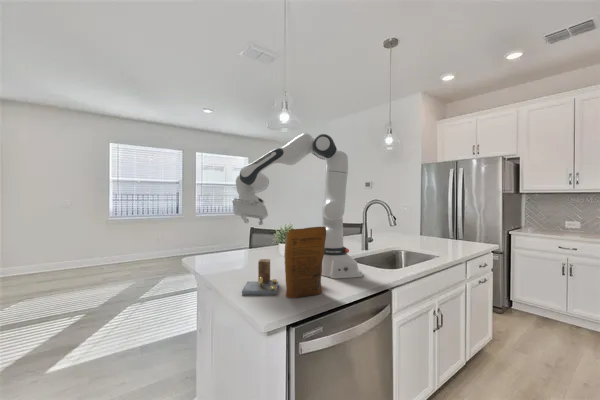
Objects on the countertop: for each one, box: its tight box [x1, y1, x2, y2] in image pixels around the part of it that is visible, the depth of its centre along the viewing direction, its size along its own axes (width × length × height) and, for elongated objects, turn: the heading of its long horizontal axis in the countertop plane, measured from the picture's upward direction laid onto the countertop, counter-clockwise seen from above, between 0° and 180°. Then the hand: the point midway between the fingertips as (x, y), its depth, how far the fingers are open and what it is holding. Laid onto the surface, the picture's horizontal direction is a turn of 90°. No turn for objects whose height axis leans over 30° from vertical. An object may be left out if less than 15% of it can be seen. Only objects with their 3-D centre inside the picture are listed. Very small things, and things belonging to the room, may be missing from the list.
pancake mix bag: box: [284, 226, 326, 299], centre depth 112 cm, size 7×19×28 cm, turn 112°
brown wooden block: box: [257, 258, 271, 282], centre depth 130 cm, size 5×5×10 cm
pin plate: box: [241, 277, 279, 296], centre depth 118 cm, size 14×12×6 cm
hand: (254, 223), depth 140 cm, fingers open, 8 cm apart
